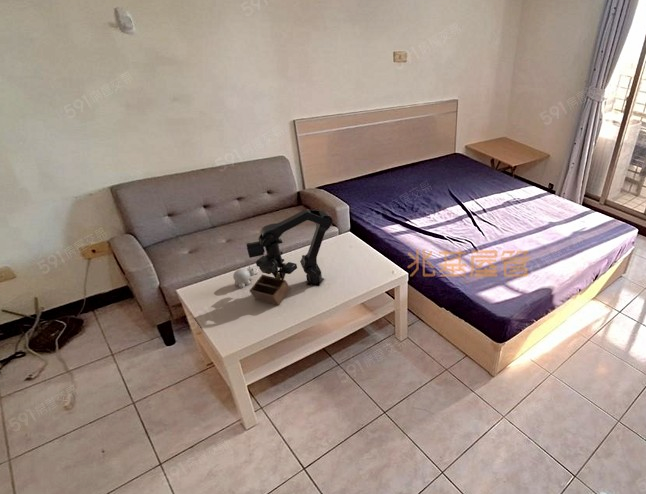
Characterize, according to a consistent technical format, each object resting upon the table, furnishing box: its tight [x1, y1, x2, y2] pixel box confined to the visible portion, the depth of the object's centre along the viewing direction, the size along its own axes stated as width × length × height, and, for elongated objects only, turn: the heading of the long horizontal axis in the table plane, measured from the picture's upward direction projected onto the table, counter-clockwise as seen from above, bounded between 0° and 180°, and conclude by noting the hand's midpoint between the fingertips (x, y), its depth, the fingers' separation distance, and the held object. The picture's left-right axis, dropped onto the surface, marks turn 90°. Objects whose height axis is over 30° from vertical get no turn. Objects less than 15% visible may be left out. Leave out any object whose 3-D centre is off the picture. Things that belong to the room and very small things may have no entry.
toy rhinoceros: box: [232, 265, 259, 289], centre depth 204 cm, size 7×12×8 cm, turn 144°
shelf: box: [249, 273, 291, 306], centre depth 195 cm, size 14×13×7 cm
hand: (280, 279), depth 199 cm, fingers closed on shelf, 3 cm apart
